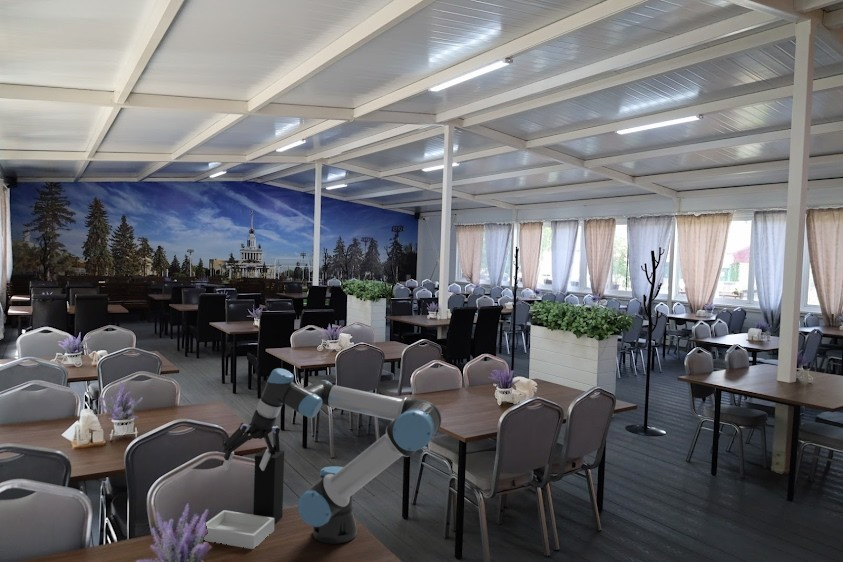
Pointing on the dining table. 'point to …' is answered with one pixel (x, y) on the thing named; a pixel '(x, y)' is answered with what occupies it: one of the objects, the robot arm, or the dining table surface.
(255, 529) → the tray
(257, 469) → the black tall block
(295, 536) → the dining table surface
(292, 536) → the dining table surface
